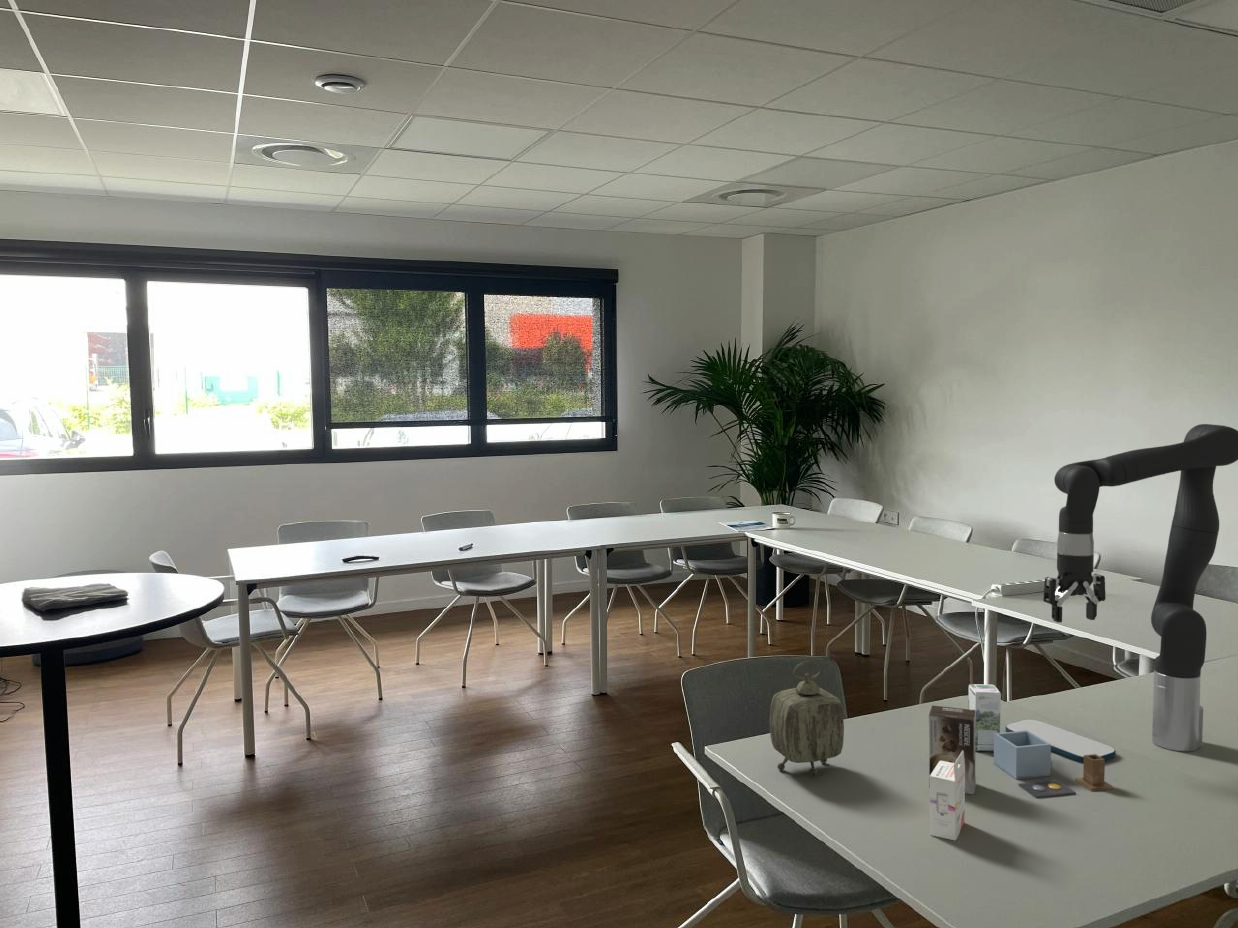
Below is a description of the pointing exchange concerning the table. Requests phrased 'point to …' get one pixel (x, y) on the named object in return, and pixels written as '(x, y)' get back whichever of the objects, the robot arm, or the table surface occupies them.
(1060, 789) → the card
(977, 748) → the syrup box
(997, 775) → the table surface
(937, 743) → the coffee box
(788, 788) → the table surface
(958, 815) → the ink cartridge box
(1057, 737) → the white rounded slab
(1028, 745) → the blue open box
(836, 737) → the tabletop clock
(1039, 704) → the table surface
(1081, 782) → the brown square ball stand
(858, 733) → the table surface
